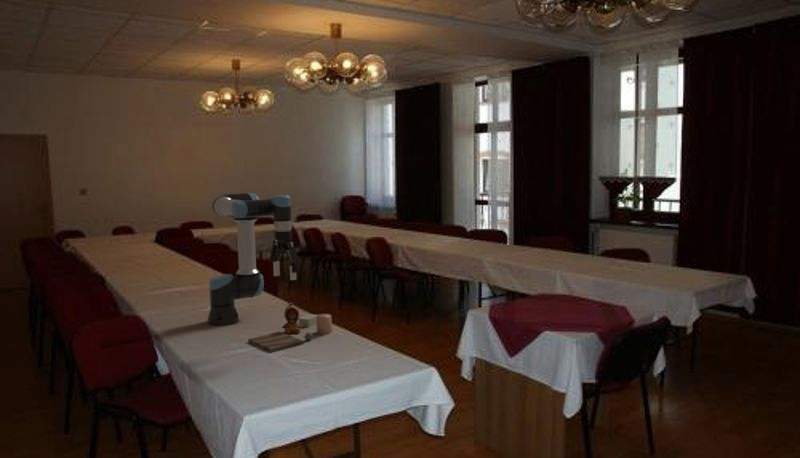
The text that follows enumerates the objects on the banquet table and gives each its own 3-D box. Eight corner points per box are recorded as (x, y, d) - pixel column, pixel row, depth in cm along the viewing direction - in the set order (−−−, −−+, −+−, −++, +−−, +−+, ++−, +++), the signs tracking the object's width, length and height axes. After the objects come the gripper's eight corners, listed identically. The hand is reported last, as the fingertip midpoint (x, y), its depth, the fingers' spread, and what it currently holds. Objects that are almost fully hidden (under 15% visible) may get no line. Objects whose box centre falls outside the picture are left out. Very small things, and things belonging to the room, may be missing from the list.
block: (298, 326, 288) (298, 318, 288) (310, 321, 296) (309, 314, 296) (308, 327, 285) (308, 319, 285) (319, 323, 293) (319, 315, 293)
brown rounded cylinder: (314, 332, 277) (313, 315, 276) (326, 329, 281) (325, 313, 280) (322, 335, 271) (322, 318, 271) (334, 332, 276) (334, 315, 275)
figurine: (282, 335, 272) (280, 303, 274) (281, 334, 279) (279, 303, 281) (304, 333, 275) (302, 301, 277) (302, 332, 282) (300, 301, 284)
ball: (303, 340, 265) (303, 332, 264) (310, 338, 267) (309, 330, 267) (307, 341, 262) (307, 334, 262) (314, 340, 265) (314, 332, 264)
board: (248, 342, 263) (248, 339, 263) (279, 334, 274) (279, 331, 274) (271, 352, 248) (271, 348, 248) (303, 343, 259) (303, 340, 259)
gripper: (261, 229, 265) (263, 275, 267) (291, 233, 247) (293, 282, 249) (275, 227, 270) (277, 273, 272) (306, 231, 252) (308, 280, 254)
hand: (285, 277), depth 261 cm, fingers open, 13 cm apart
